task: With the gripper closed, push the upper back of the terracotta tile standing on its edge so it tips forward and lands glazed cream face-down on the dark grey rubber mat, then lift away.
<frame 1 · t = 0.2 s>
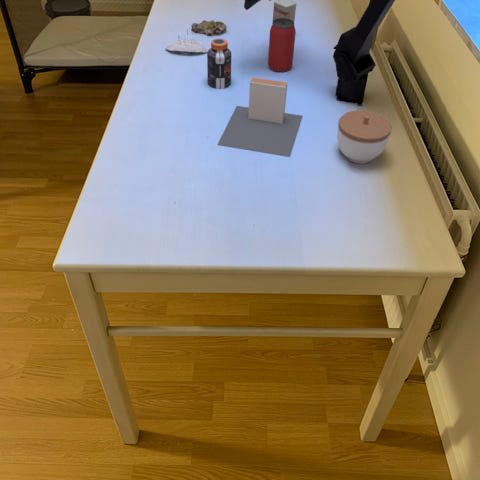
hand: (257, 3, 130), 15 cm above the table, tool tilted 30°, fingers open, 9 cm apart
beer can: (279, 67, 138), on the table
pill bottle: (219, 85, 130), on the table
pincushion: (186, 52, 144), on the table
mineral rock: (209, 32, 154), on the table
mat: (261, 131, 115), on the table
skincare box: (282, 37, 151), on the table
lidded jar: (358, 155, 110), on the table
tile: (266, 118, 118), resting on mat
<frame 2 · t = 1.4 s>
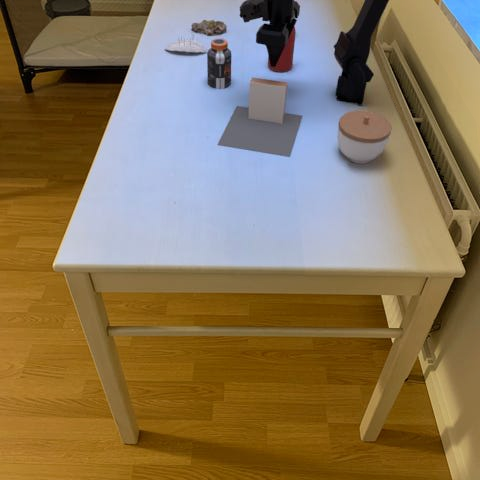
hand: (276, 59, 116), 11 cm above the table, tool pointing down, fingers open, 7 cm apart
nothing on the table moved.
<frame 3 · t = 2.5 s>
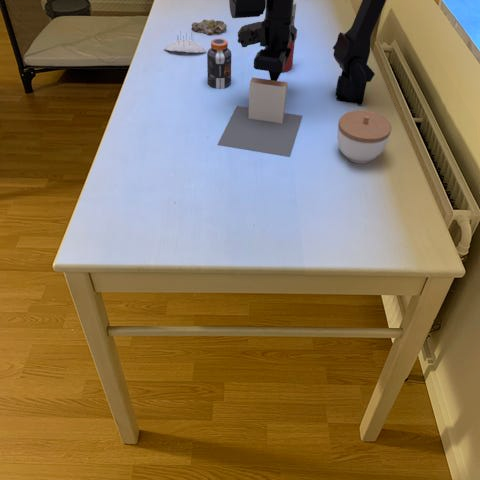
hand: (273, 82, 119), 6 cm above the table, tool pointing down, fingers closed
nothing on the table moved.
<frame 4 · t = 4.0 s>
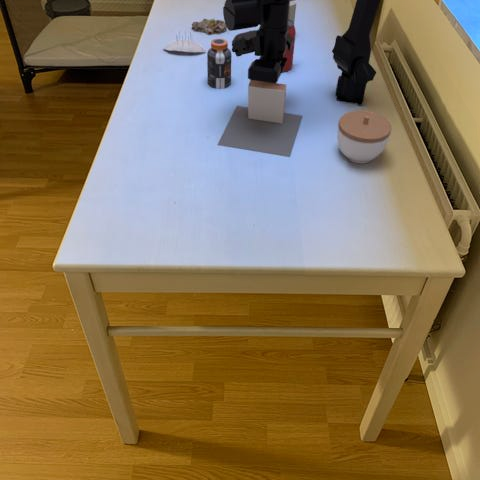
hand: (269, 92, 116), 6 cm above the table, tool pointing down, fingers closed
tile: (266, 117, 118), point 1 cm above the table, tilted 10°, touching mat
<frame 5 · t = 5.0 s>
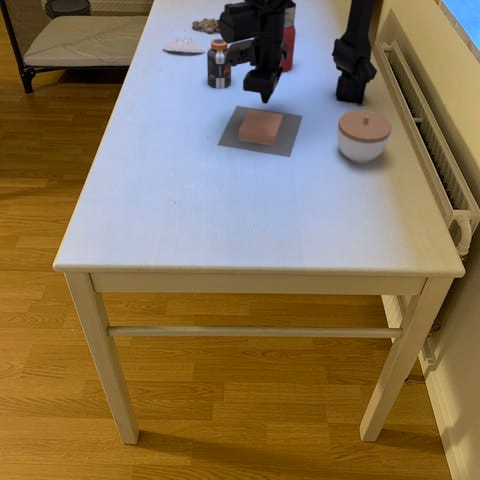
hand: (265, 102, 112), 6 cm above the table, tool pointing down, fingers closed
tile: (265, 116, 117), point 2 cm above the table, tilted 90°, touching mat
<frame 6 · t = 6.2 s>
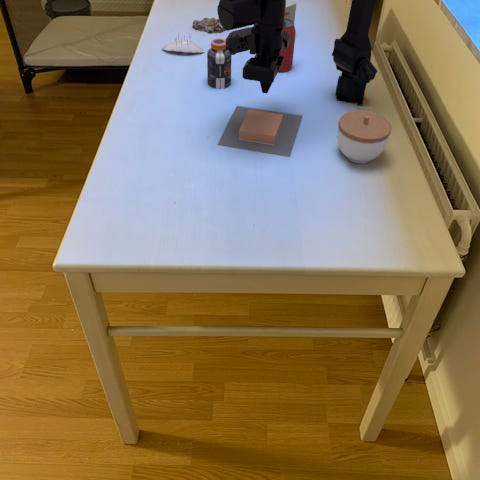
hand: (265, 92, 110), 9 cm above the table, tool pointing down, fingers closed
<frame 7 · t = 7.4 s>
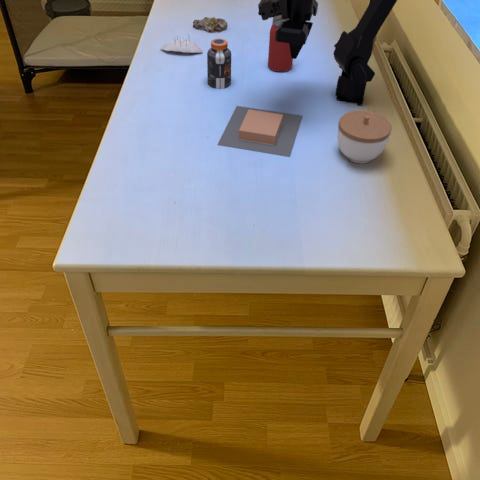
hand: (293, 58, 115), 12 cm above the table, tool pointing down, fingers closed
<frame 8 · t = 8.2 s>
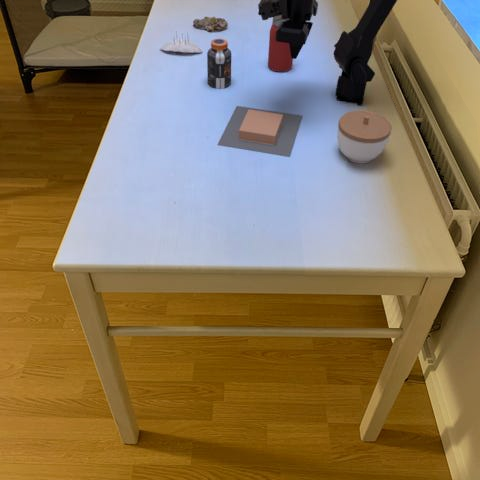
hand: (293, 58, 115), 12 cm above the table, tool pointing down, fingers closed
at the end: tile tilted 90°; tile inside the target area (2.1 cm from its centre), point 1.7 cm above the table; tile touching mat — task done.
